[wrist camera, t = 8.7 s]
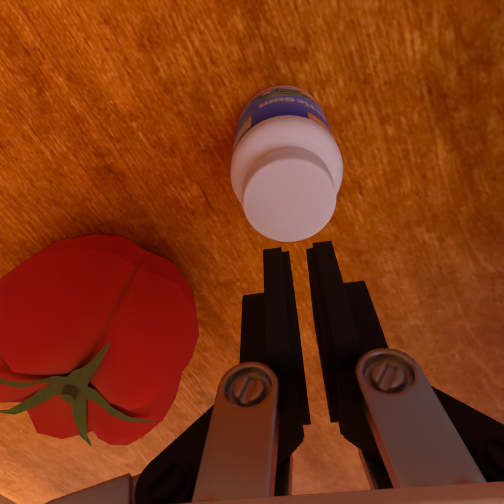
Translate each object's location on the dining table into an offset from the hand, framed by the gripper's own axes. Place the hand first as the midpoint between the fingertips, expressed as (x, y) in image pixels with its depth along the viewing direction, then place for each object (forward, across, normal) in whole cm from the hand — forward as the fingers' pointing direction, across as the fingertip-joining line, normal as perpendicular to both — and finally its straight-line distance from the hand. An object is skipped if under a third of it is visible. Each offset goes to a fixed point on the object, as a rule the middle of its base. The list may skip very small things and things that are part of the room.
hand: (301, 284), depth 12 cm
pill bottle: (+16, 0, 0) cm, 16 cm away
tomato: (+16, +14, +10) cm, 23 cm away
